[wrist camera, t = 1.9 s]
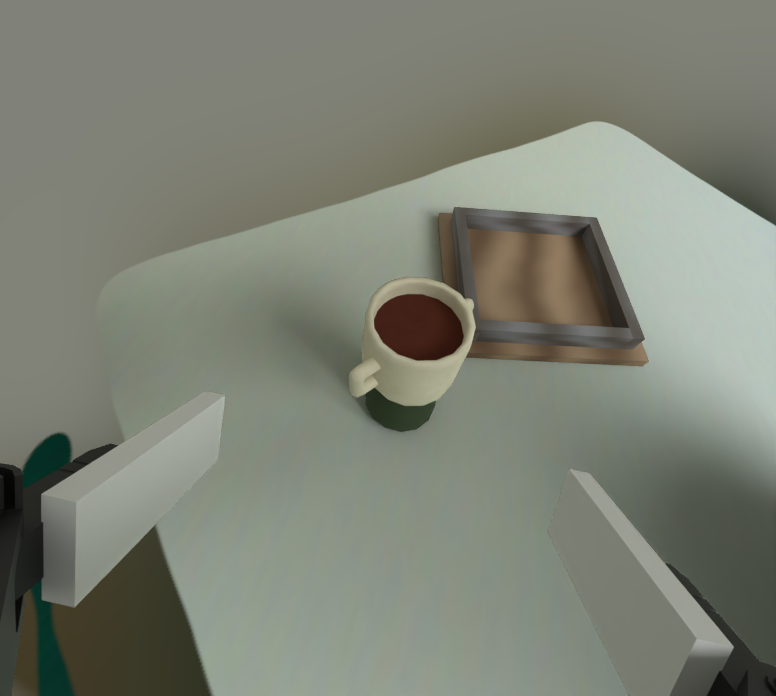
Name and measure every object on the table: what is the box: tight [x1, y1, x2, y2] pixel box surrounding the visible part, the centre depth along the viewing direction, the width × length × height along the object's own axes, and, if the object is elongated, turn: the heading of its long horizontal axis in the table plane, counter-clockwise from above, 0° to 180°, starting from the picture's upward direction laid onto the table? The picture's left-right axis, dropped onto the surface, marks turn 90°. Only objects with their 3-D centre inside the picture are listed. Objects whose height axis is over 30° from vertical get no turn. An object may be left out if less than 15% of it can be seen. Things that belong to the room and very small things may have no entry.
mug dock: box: [438, 207, 649, 366], centre depth 43 cm, size 20×20×3 cm
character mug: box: [349, 277, 476, 432], centre depth 30 cm, size 11×7×13 cm, turn 128°
